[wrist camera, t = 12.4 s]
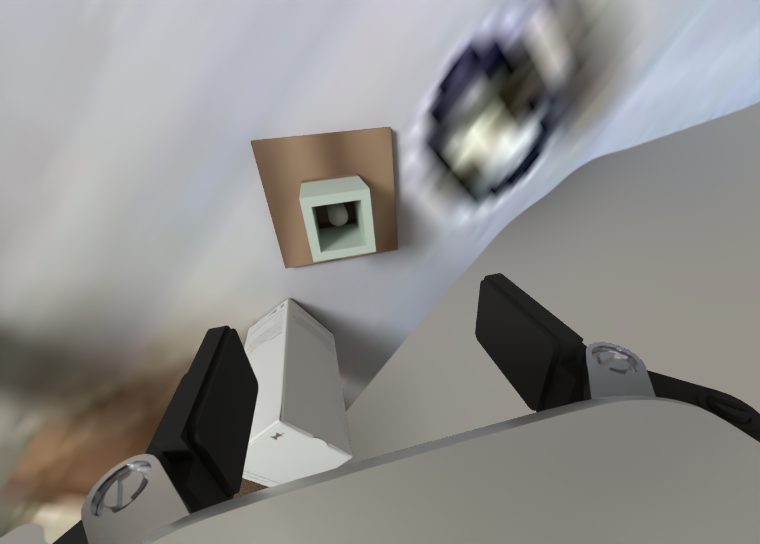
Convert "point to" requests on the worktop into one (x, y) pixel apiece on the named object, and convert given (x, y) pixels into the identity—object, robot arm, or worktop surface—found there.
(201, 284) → the worktop surface
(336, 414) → the skincare box
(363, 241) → the sleeve
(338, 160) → the pin board
